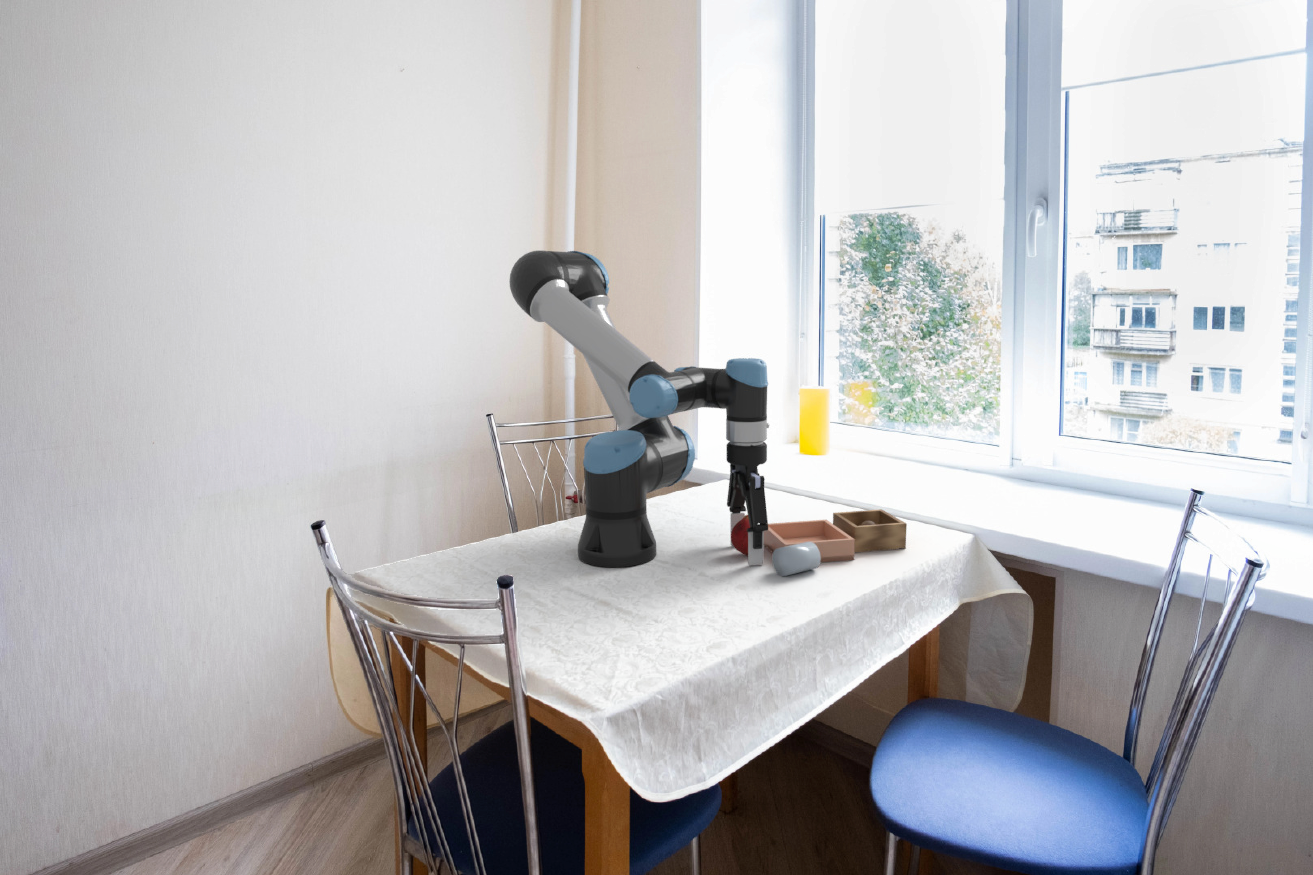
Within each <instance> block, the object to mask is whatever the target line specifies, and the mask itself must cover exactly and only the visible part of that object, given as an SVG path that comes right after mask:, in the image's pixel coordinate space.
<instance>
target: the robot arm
mask: <svg viewBox="0 0 1313 875" xmlns="http://www.w3.org/2000/svg"><path fill="white" fill-rule="evenodd" d="M513 264H514V265H513V267H512V268H511V271H510V274H509V289H510V292H511V294H512V295H511V296H512V298H513V299H514V301H515V303H516V304H517V305H518V306H519V307H520V309H521V310H522V311H523V312H524V313H526V314H527V315H528V316H529V317H530V318H531V319H532V320H534V321H535V322H538V323H546V324H547V325H548V326H549V327H550V328H551V329H553V331H555V332H556V333H557V334H559V336H560V337H562V338H563V339H564V340H565V341H567V342H568V343H569V344H570V345H572V346H573V347H574V348H575V349H576V350H578V351H579V352H580V353H581V354H582V356H583V357H584V359H585V362H586V364H587V366H588V368H589V369H590V371H591V374H592V376H593V378H594V381H595V382H596V384H597V386H598V389H599V390H600V392H601V395H602V396H603V398H604V400H605V403H606V404H607V407H608V409H609V410H610V413H611V415H612V417H613V419H614V421H615V423H616V425H617V427H618V430H613V431H607V432H602V433H599V434H597V435H594V436H592V437H590V438H589V439H588V440H587V442H586V443H585V445H584V448H583V449H584V450H583V451H584V454H583V459H582V460H583V461H582V464H583V473H584V477H583V478H584V496H585V497H584V498H585V501H584V503H585V520H584V523H583V527H582V530H581V533H580V537H579V540H578V544H577V557H578V559H579V561H581V562H583V563H585V564H587V565H591V566H595V565H596V567H601V568H603V567H604V568H622V567H623V568H624V567H632V566H637V565H642V564H645V563H647V562H650V561H651V560H653V559H655V557H656V556H657V541H656V538H655V536H654V532H653V530H652V527H651V524H650V521H649V519H648V515H647V494H650V493H652V492H655V491H658V490H660V489H663V488H669V487H672V486H674V485H675V484H677V483H679V482H681V481H682V480H684V479H685V478H687V476H688V475H689V474H690V473H691V471H692V470H693V466H694V463H695V459H696V450H695V445H694V442H693V440H692V438H691V436H690V434H689V433H688V432H687V431H686V430H684V429H682V428H680V427H679V426H675V425H673V423H672V421H671V419H670V417H669V416H670V415H674V414H678V413H682V412H688V411H692V410H695V409H696V410H697V409H699V408H701V409H702V408H709V409H710V408H712V409H721V410H722V409H723V410H726V412H725V413H726V419H725V421H726V422H725V426H726V427H725V430H726V431H725V434H726V435H725V438H726V441H727V443H726V462H727V463H728V464H729V466H730V467H729V468H730V470H729V472H730V473H729V482H728V490H727V491H728V492H727V499H726V505H727V508H729V512H730V533H731V532H732V529H733V527H734V526H735V525H736V524H737V523H738V522H739V521H740V520H742V519H743V517H744V516H745V515H746V513H745V512H747V515H748V518H749V524H750V528H748V529H747V532H748V555H747V563H748V564H747V565H748V566H749V567H750V566H759V565H761V566H762V565H764V555H765V554H764V547H765V546H764V531H766V530H768V524H769V522H768V512H767V502H766V492H765V480H766V479H765V477H764V476H765V475H760V473H759V469H758V467H759V466H760V465H764V464H765V463H766V462H767V460H768V444H767V443H766V442H765V441H766V440H767V439H768V437H767V436H768V434H767V432H768V430H767V429H769V428H770V424H769V422H768V415H767V414H768V413H767V412H768V411H767V410H768V385H769V381H768V370H767V369H768V368H767V367H768V366H767V363H766V362H765V360H763V359H761V358H753V357H751V358H750V357H749V358H748V357H747V358H746V357H741V358H740V357H739V358H731V359H727V362H726V364H725V368H710V367H699V366H698V367H697V366H692V365H691V366H682V367H681V366H680V367H677V368H674V371H668V370H666V368H664V367H663V366H661V365H659V363H657V362H656V361H655V360H654V359H652V358H651V357H650V356H648V354H646V353H645V352H644V351H643V350H641V349H640V347H638V346H636V345H635V344H634V343H633V342H631V341H630V339H628V338H627V337H626V336H624V335H623V333H620V332H619V331H618V330H617V328H616V325H615V324H614V321H613V320H612V318H611V316H610V314H609V312H608V306H609V303H610V298H609V296H608V294H609V289H610V287H609V286H608V285H609V284H610V278H609V274H608V271H607V269H606V266H605V265H604V264H603V263H602V262H601V260H600V259H599V258H597V257H596V256H594V255H593V254H590V253H587V252H582V251H578V250H570V251H555V250H553V251H552V250H532V251H529V252H526V253H525V254H523V255H522V256H520V257H519V258H518V259H517V261H516V262H515V263H513ZM730 546H731V547H734V546H733V544H732V542H731V541H730Z"/></svg>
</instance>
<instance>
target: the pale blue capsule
mask: <svg viewBox="0 0 1313 875" xmlns="http://www.w3.org/2000/svg"><path fill="white" fill-rule="evenodd" d="M820 560H821V557H820V552H819V549H818V548H817V546H816V545H815V544H814V543H813V542H810V541H809V542H804V543H799V544H795V545H790V546H786V547H781V548H777V549H775V550H774V552H773V554H772V556H771V561H772V566H773V568H774V571H775V572H776V573H777V574H778V575H779V576H780V577H786V576H790V575H794V574H799V573H802V572H807V571H812V570H815V569H818V567H819V566H820V564H821V563H820Z"/></svg>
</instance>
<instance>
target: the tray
mask: <svg viewBox="0 0 1313 875" xmlns="http://www.w3.org/2000/svg"><path fill="white" fill-rule="evenodd" d="M809 541H810V542H813V543H814V544H815V545H816V546H817V548H818V549H819V552H820V557H821V560H820V564H821V563H831V562H843V561H854V560H855V552H854V546H855V539H853V538H852V537H851V536H849V535H848V534H846V533H845V532H843V531H842V530H841V529H839V528H838V527H836V526H835V525H833V522H831V521H829V520H827V519H816V520H802V521H801V520H799V521H790V522H789V521H788V522H786V521H785V522H772V523H768V530H766V531H764V547H765V548H766V549H767V551H769V552H770V553H771V554H772V555H773V552H774V550H775V549H777V548H781V547H786V546H790V545H795V544H799V543H804V542H809Z"/></svg>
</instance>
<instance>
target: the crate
mask: <svg viewBox="0 0 1313 875" xmlns="http://www.w3.org/2000/svg"><path fill="white" fill-rule="evenodd" d="M864 521H872V522H874V523H875V524H876V525H864V526H860V525H861V524H862V523H863V522H864ZM832 524H833V525H835V526H836V527H838V528H839V529H841V530H842V531H843V532H845V533H846V534H848V535H849V536H851V537H852V538H853V539H855V546H854V553H866V552H877V551H889V550H891V549H892V550H900V549H899V548H904V549H907V548H906V546H907V526H908V524H907V523H906V522H904V521H903V520H901V519H899V518H897V517H896V516H894V515H892V514H890V513H889V512H887V511H885V510H883V508H881V509H871V510H870V509H869V510H853V511H841V512H840V511H839V512H833V513H832Z"/></svg>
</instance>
